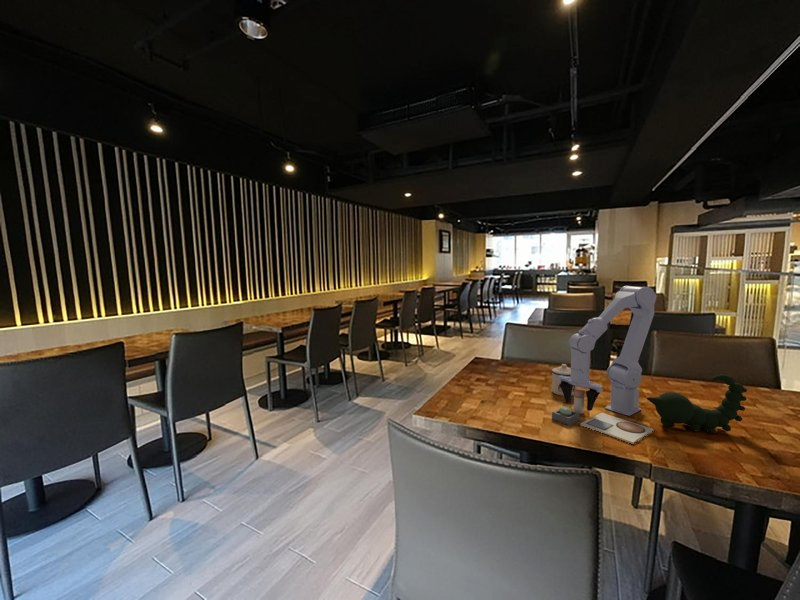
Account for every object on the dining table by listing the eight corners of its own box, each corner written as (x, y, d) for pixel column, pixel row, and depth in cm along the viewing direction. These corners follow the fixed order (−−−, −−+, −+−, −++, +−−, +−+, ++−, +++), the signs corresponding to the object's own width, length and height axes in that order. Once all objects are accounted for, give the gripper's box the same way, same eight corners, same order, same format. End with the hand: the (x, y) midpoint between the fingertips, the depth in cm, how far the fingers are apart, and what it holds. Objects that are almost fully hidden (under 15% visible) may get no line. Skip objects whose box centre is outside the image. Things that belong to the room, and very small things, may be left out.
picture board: (602, 414, 117) (602, 412, 117) (653, 431, 105) (653, 428, 105) (580, 425, 110) (580, 422, 110) (632, 445, 97) (632, 441, 97)
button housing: (561, 414, 118) (562, 407, 118) (579, 421, 113) (579, 413, 113) (551, 419, 115) (552, 412, 114) (569, 425, 110) (569, 418, 109)
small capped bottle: (576, 409, 123) (577, 387, 122) (586, 412, 120) (586, 390, 119) (571, 411, 121) (571, 389, 120) (580, 414, 118) (581, 392, 117)
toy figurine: (723, 430, 109) (636, 416, 114) (734, 372, 107) (644, 361, 112) (746, 444, 100) (650, 429, 105) (758, 382, 98) (659, 370, 103)
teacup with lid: (557, 396, 135) (558, 367, 134) (547, 389, 144) (547, 361, 143) (587, 396, 135) (588, 367, 134) (575, 388, 144) (576, 361, 143)
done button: (563, 411, 116) (563, 405, 116) (573, 414, 113) (574, 409, 113) (557, 413, 114) (557, 408, 114) (567, 417, 111) (568, 411, 111)
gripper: (553, 365, 123) (552, 402, 124) (595, 375, 111) (594, 416, 112) (564, 362, 127) (563, 398, 128) (606, 371, 115) (604, 411, 116)
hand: (578, 406), depth 120 cm, fingers open, 7 cm apart
